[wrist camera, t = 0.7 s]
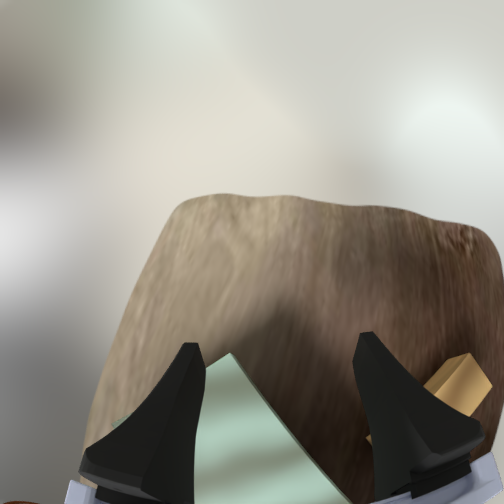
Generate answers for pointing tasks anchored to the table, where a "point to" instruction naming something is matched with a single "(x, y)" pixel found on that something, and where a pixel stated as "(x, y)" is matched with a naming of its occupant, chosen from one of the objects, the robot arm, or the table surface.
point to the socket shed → (250, 448)
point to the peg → (459, 384)
